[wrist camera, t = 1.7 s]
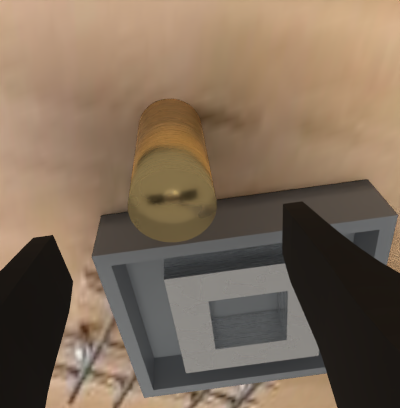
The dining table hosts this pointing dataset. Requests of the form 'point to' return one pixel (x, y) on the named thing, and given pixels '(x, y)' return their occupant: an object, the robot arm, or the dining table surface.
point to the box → (212, 242)
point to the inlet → (241, 323)
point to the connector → (171, 174)
